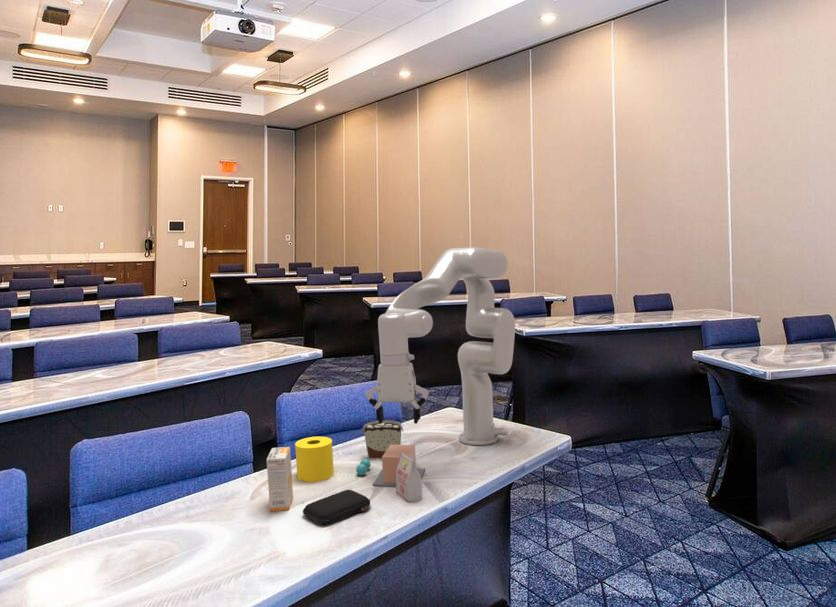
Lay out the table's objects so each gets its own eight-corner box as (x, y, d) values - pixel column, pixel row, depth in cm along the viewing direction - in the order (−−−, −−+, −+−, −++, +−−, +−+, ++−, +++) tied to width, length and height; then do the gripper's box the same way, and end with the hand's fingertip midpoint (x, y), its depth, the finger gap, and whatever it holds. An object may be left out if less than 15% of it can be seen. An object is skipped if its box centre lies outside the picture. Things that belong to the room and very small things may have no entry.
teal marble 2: (368, 472, 164) (367, 462, 163) (365, 477, 161) (365, 466, 160) (358, 472, 164) (357, 462, 164) (355, 476, 161) (354, 466, 161)
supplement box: (274, 497, 149) (271, 447, 148) (293, 496, 150) (290, 446, 149) (269, 511, 141) (265, 458, 140) (289, 510, 141) (286, 457, 140)
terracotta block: (416, 469, 163) (414, 444, 163) (409, 483, 153) (408, 457, 153) (391, 468, 164) (390, 444, 164) (383, 482, 155) (382, 457, 154)
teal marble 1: (372, 467, 168) (371, 457, 167) (369, 471, 165) (368, 461, 164) (361, 467, 168) (361, 457, 168) (359, 471, 165) (358, 460, 165)
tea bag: (409, 489, 151) (407, 451, 150) (421, 499, 145) (420, 459, 144) (396, 493, 149) (394, 454, 148) (408, 502, 143) (406, 462, 142)
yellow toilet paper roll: (302, 485, 157) (300, 450, 156) (293, 473, 166) (291, 440, 165) (338, 477, 161) (336, 443, 160) (327, 466, 170) (325, 434, 169)
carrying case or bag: (325, 531, 130) (377, 510, 140) (324, 518, 130) (376, 497, 140) (299, 517, 138) (350, 497, 148) (299, 504, 138) (350, 485, 148)
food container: (406, 451, 180) (405, 419, 179) (404, 458, 174) (403, 425, 173) (367, 451, 181) (365, 420, 180) (363, 458, 175) (361, 426, 174)
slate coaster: (425, 470, 164) (425, 468, 164) (417, 487, 152) (417, 485, 152) (383, 469, 166) (383, 467, 166) (372, 486, 154) (372, 484, 154)
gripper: (429, 355, 158) (432, 417, 160) (366, 357, 161) (371, 418, 163) (424, 361, 151) (428, 426, 153) (359, 363, 154) (364, 426, 156)
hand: (398, 422), depth 158 cm, fingers open, 9 cm apart
